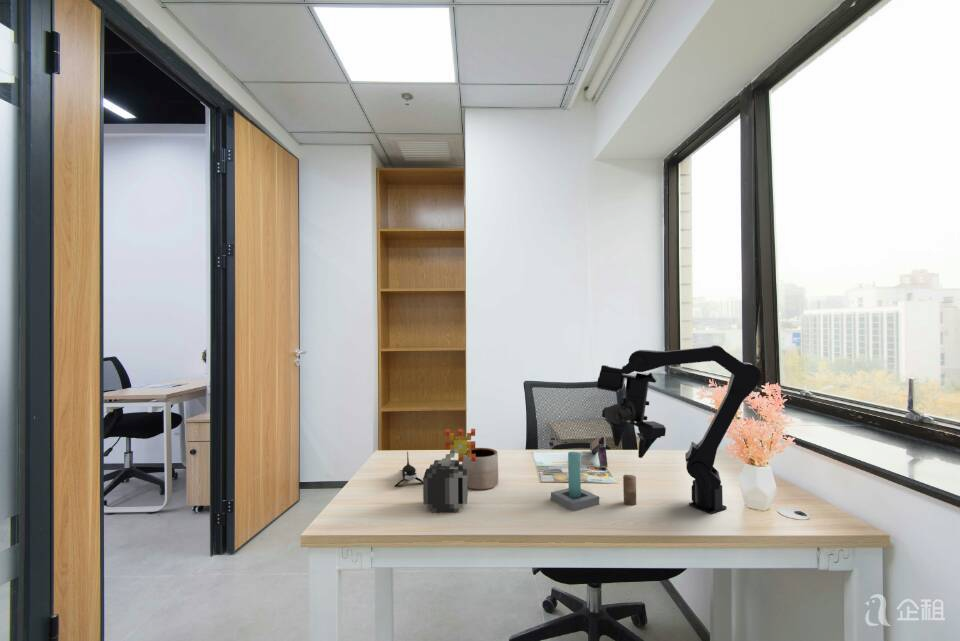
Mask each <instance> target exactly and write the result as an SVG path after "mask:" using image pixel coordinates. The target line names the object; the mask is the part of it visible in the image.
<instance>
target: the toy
mask: <svg viewBox="0 0 960 641" xmlns="http://www.w3.org/2000/svg"><path fill="white" fill-rule="evenodd" d="M406 455H407V456H406V459H407V461H406V462H407V463H406V465H405V466H403V468H401V469H402V470H401V469H400V470H398V471H399V472H401V474H402V477H403V478H402V479H401V480H399V481H398V482H397V483H396V484H395V485H394V487H397V486H398V485H400V484H401V483H402V482H404V481H405V480H406V481H413V480H417V481H418V482H421V483H422V484H423V479H421V478H419V477H418V476H417V469H416V468H415V467H414V466H412V465H411V464H410V461H409V452H408V451H407V452H406Z"/></svg>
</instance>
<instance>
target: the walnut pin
mask: <svg viewBox="0 0 960 641" xmlns="http://www.w3.org/2000/svg"><path fill="white" fill-rule="evenodd" d="M622 477H623V478H622V479H623V480H622V481H623V482H622V483H623V489H622V490H623V491H622V492H623V504H624V505H626V506H631V507H633V506H636V505H637V477H636V476H635V475H633V474H624V475H623V476H622Z"/></svg>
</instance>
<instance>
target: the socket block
mask: <svg viewBox="0 0 960 641" xmlns="http://www.w3.org/2000/svg"><path fill="white" fill-rule="evenodd" d="M550 501H552V502H554V503H556V504H558V505H560V506H562V507H563V508H566V509H567V510H569V511H571V512H576V511H579V510H583V509H587V508H591V507H595V506H597V505H600V496H599V495H596V494H594V493H592V492H589V491H588V490H585V489H584V488H581V498H578V499H574V500H573V499H571V498H569V487H568V488H564V489H559V490H555V491H551V492H550Z"/></svg>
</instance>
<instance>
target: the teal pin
mask: <svg viewBox="0 0 960 641" xmlns="http://www.w3.org/2000/svg"><path fill="white" fill-rule="evenodd" d="M567 464H568V465H567V466H568V469H567V470H568V476H567V477H568V488H569V498H571V499H573V500H574V499H578V498H581V489H582V487H581V486H582V476H581V474H582V472H581V469H582V468H581V452H579V451H568V453H567Z"/></svg>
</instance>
